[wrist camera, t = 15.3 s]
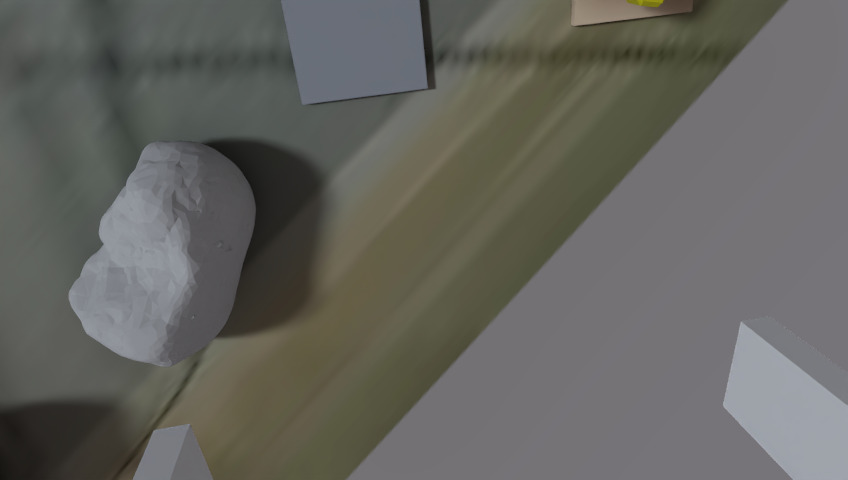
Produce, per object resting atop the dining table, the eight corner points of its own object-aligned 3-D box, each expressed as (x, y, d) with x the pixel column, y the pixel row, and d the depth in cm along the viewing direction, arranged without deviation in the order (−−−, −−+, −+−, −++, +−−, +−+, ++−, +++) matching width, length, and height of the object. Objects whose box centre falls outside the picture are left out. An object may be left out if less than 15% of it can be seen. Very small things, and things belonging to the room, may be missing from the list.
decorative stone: (227, 368, 41) (115, 421, 32) (144, 305, 44) (18, 337, 35) (305, 178, 37) (201, 175, 28) (207, 121, 40) (82, 101, 30)
